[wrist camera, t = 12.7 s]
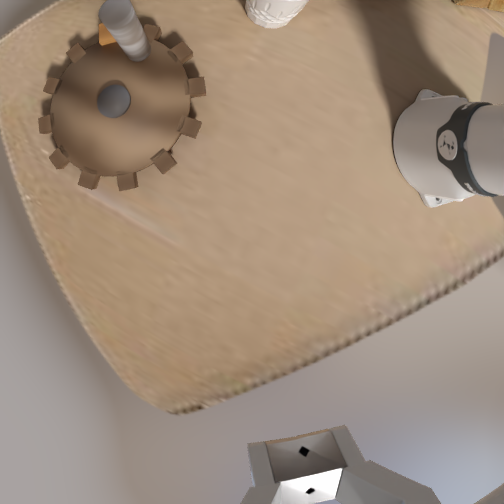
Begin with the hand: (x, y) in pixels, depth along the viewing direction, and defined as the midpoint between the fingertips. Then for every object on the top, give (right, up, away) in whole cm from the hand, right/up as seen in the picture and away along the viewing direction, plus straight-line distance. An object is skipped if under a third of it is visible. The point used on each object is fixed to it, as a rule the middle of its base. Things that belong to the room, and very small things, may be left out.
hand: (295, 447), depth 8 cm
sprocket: (-18, +24, +26) cm, 39 cm away
